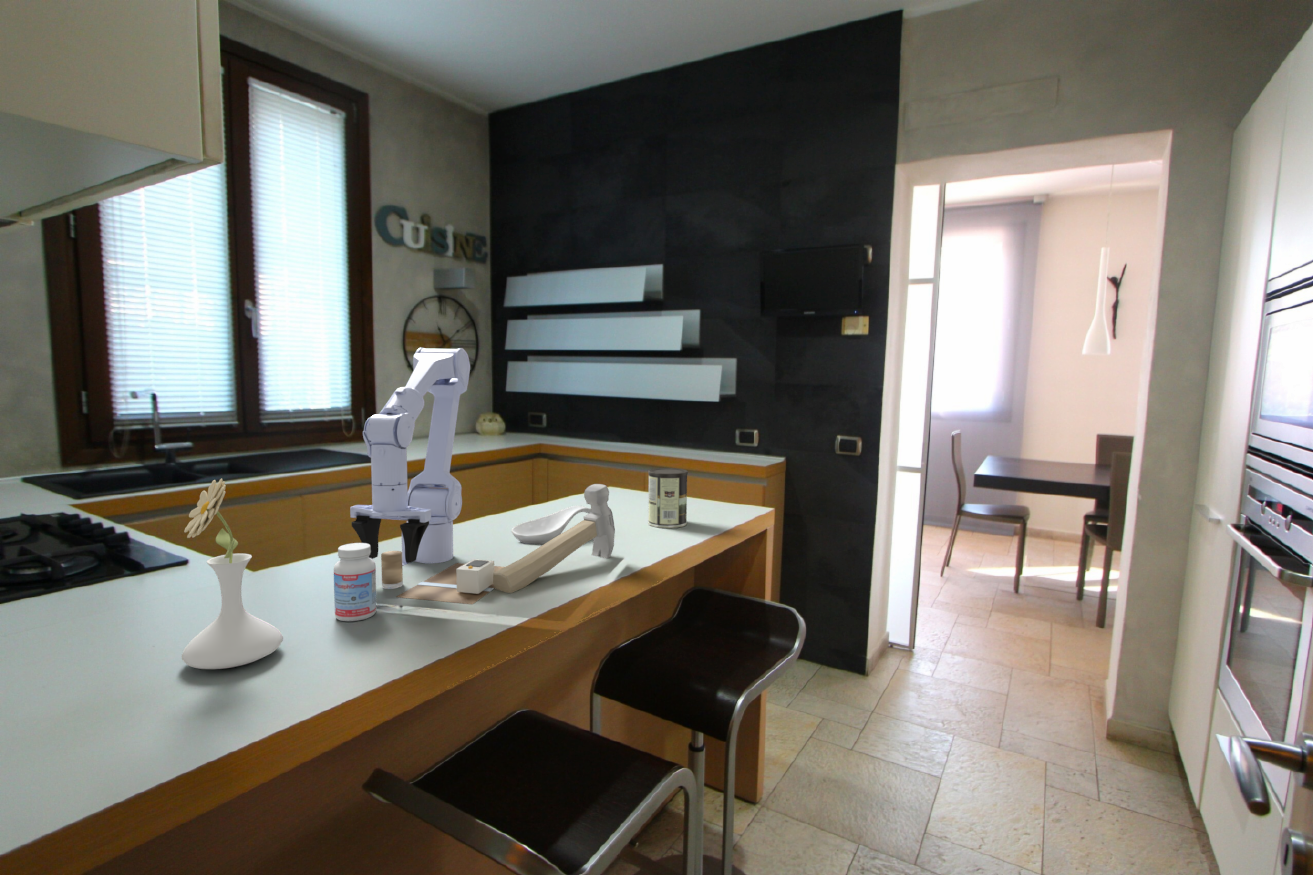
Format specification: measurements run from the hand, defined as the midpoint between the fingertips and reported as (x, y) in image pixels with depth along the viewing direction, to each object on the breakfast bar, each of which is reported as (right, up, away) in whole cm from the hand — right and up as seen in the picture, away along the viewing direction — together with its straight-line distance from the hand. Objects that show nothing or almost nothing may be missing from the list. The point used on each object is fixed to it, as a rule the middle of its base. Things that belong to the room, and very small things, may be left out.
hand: (391, 559), depth 112 cm
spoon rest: (+24, -3, +39) cm, 46 cm away
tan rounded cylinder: (0, -6, +1) cm, 6 cm away
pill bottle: (-1, -7, -10) cm, 13 cm away
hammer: (+28, -6, +10) cm, 30 cm away
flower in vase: (-10, -9, -27) cm, 30 cm away
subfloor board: (+12, -6, +3) cm, 13 cm away
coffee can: (+49, -1, +55) cm, 74 cm away
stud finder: (+15, -5, -1) cm, 16 cm away
